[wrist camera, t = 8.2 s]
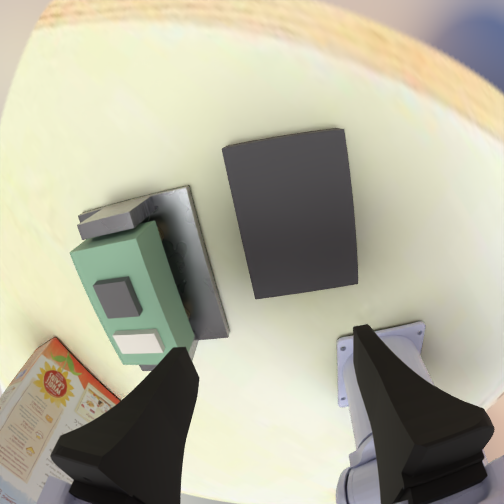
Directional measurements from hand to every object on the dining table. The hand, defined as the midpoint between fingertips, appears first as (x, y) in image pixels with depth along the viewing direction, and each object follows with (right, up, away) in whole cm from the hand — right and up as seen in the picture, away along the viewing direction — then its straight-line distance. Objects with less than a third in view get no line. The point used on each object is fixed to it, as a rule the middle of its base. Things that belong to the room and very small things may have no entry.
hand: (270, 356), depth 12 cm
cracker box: (-20, -11, +18) cm, 29 cm away
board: (-8, +2, +8) cm, 12 cm away
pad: (+2, +7, +8) cm, 11 cm away
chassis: (-8, +3, +10) cm, 13 cm away
